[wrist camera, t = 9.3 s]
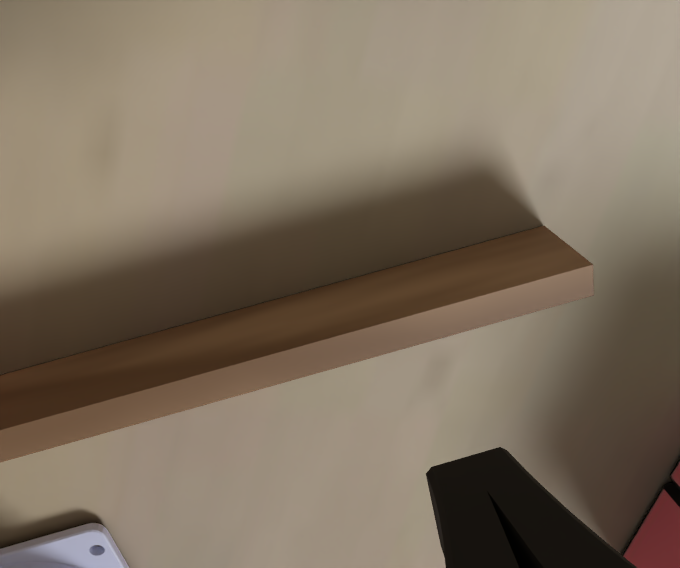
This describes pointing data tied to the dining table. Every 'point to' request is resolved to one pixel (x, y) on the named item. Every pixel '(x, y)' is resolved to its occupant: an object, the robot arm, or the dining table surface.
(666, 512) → the puzzle cube
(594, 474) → the dining table surface
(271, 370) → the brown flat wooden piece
